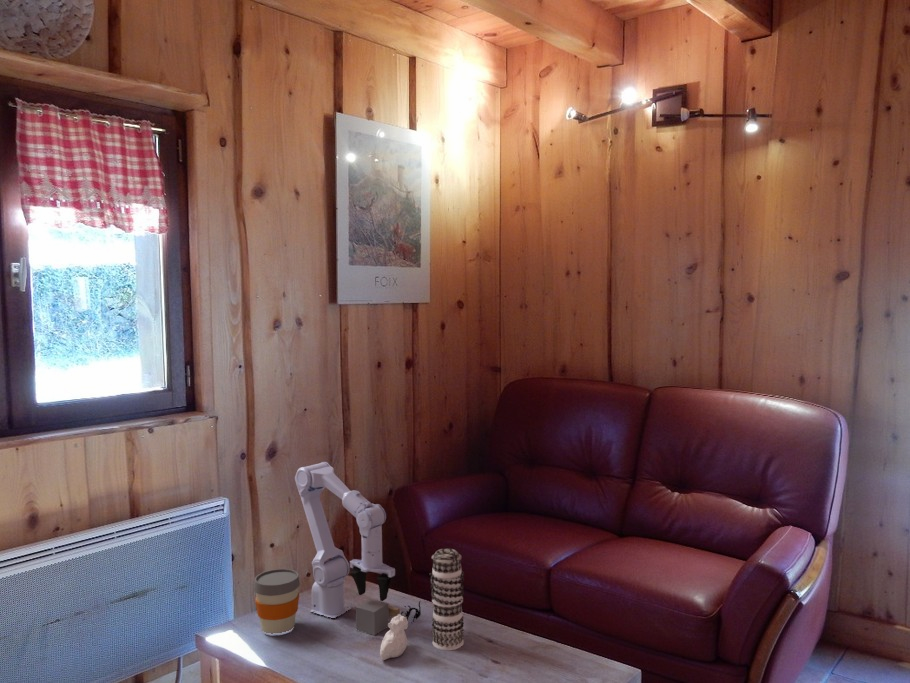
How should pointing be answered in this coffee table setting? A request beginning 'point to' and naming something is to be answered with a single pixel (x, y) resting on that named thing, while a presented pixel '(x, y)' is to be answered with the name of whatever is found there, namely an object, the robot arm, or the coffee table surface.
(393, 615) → the stopper bar
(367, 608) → the grey matte cube
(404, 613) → the creature
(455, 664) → the coffee table surface
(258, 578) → the reusable coffee cup
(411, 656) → the coffee table surface
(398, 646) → the bust
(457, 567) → the decorative candle
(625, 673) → the coffee table surface
